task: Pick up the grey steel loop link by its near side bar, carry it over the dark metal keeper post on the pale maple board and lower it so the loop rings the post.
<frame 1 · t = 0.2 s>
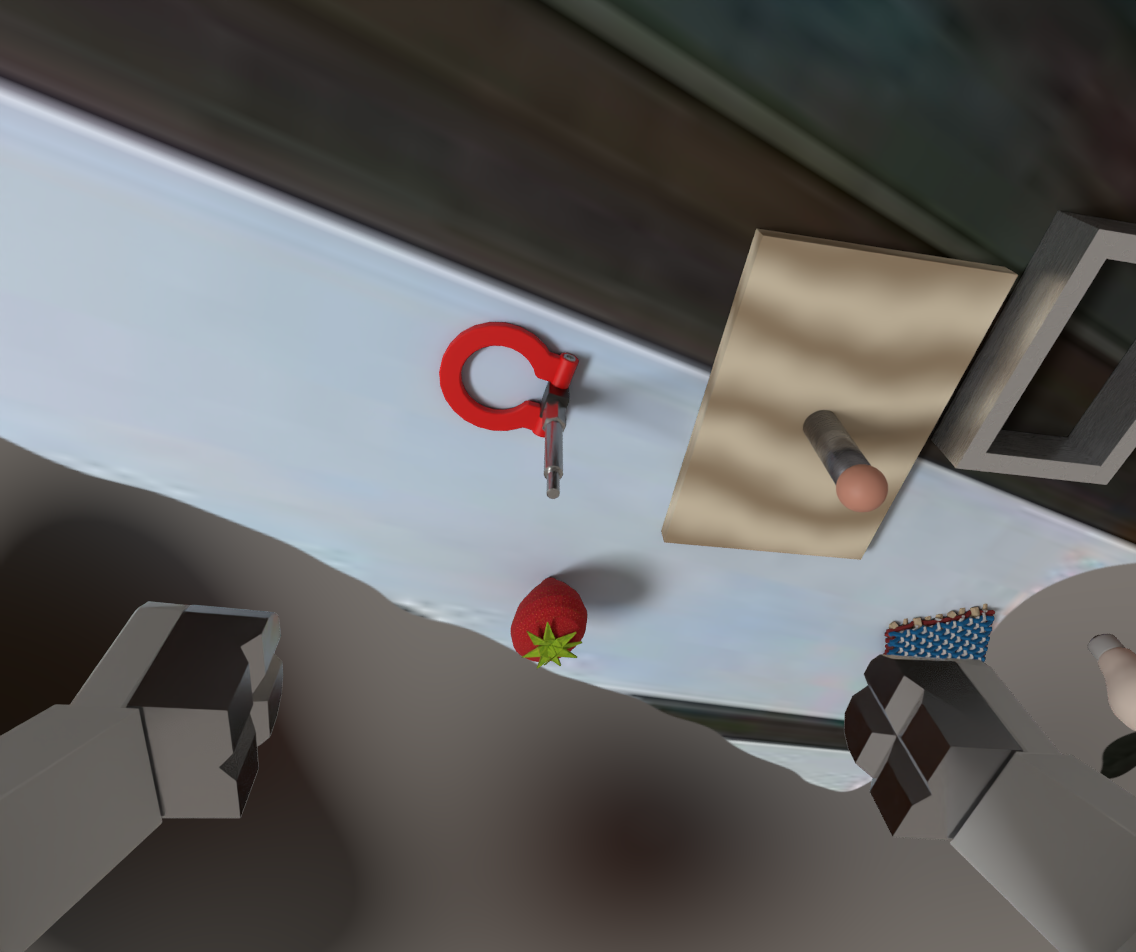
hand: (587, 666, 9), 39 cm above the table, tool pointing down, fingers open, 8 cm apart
woven mat: (930, 640, 72), on the table
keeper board: (813, 414, 54), on the table
light bulb: (1095, 635, 72), on the table
tow hook: (504, 375, 51), on the table
steel link: (1066, 347, 51), on the table
strawberry: (546, 578, 63), on the table
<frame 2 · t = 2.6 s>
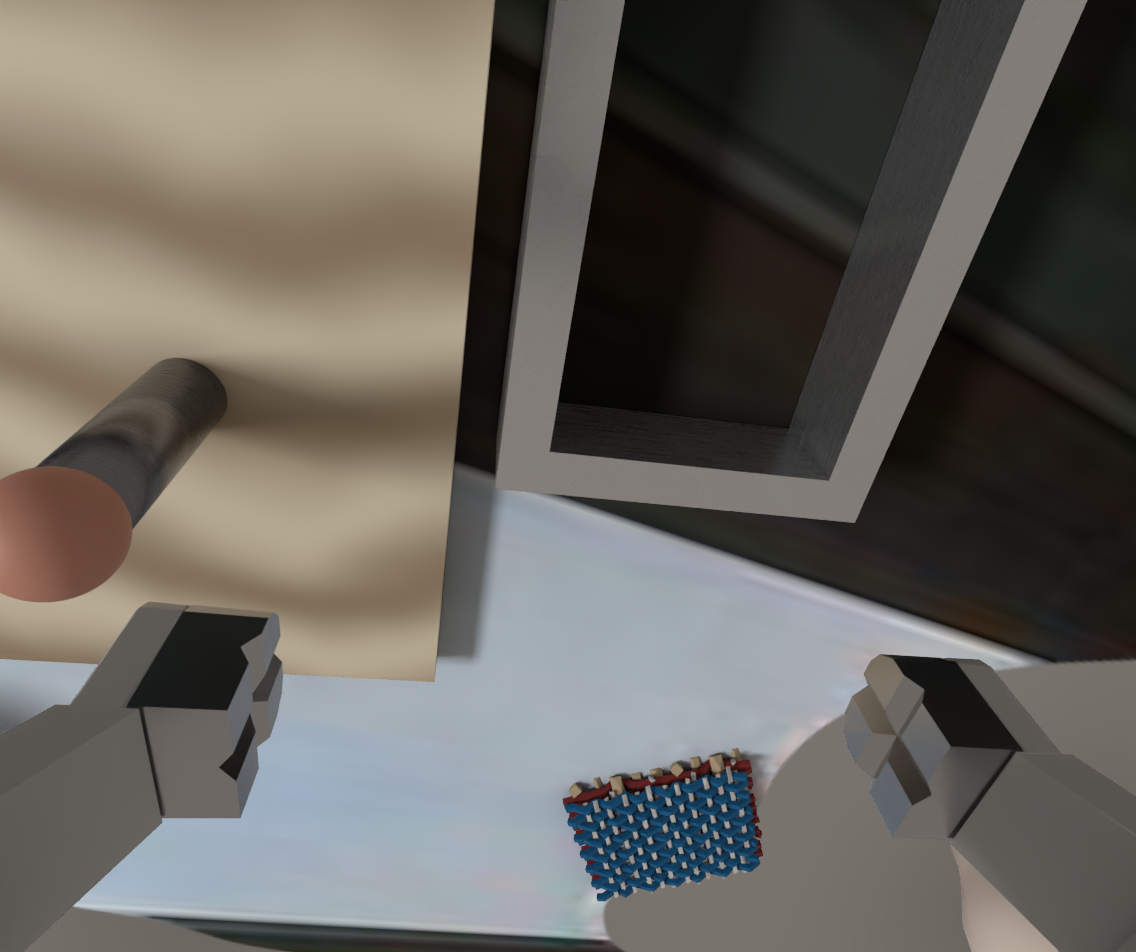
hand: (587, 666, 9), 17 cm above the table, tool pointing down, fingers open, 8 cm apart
woven mat: (664, 807, 41), on the table
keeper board: (203, 376, 24), on the table
light bulb: (950, 793, 41), on the table
steel link: (721, 215, 23), on the table
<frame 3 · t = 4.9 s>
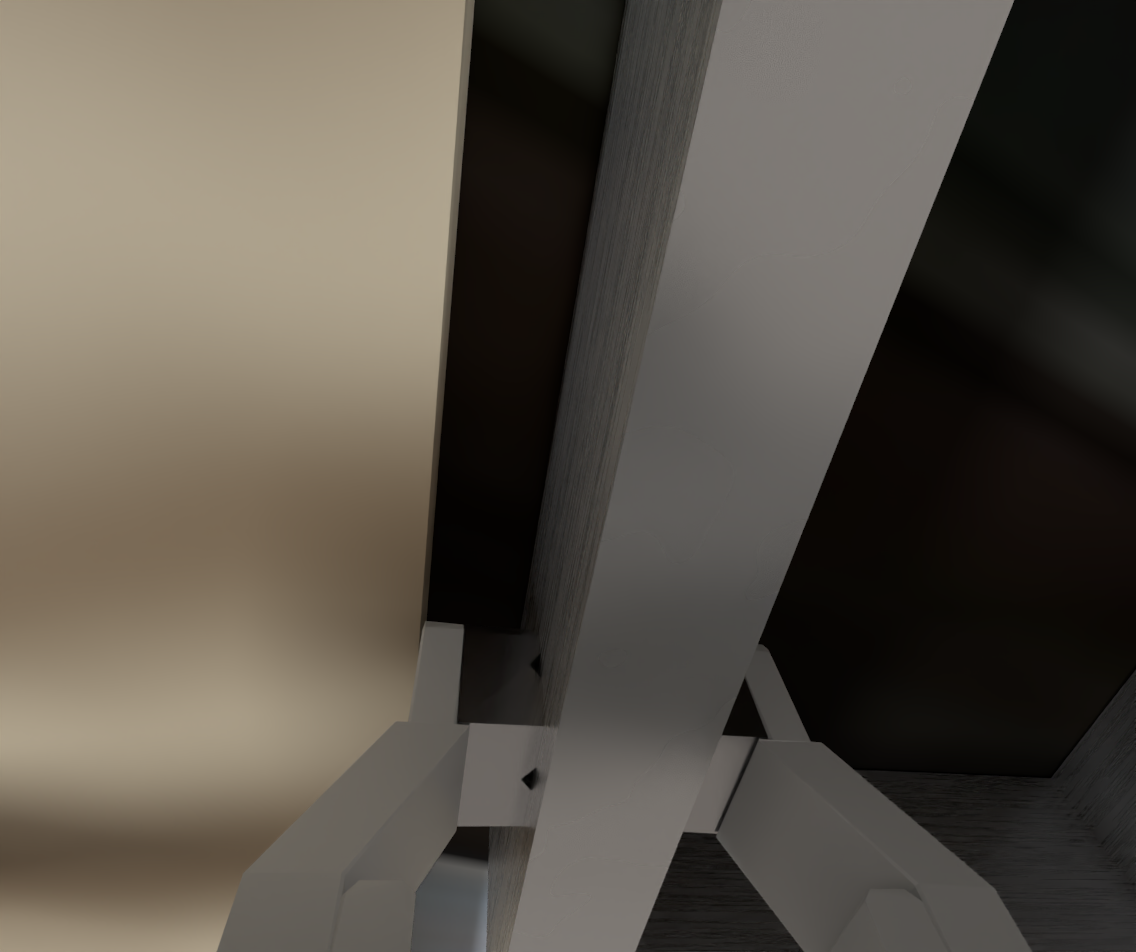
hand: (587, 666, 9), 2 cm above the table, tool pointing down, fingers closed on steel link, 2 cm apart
steel link: (1007, 433, 10), on the table, touching gripper
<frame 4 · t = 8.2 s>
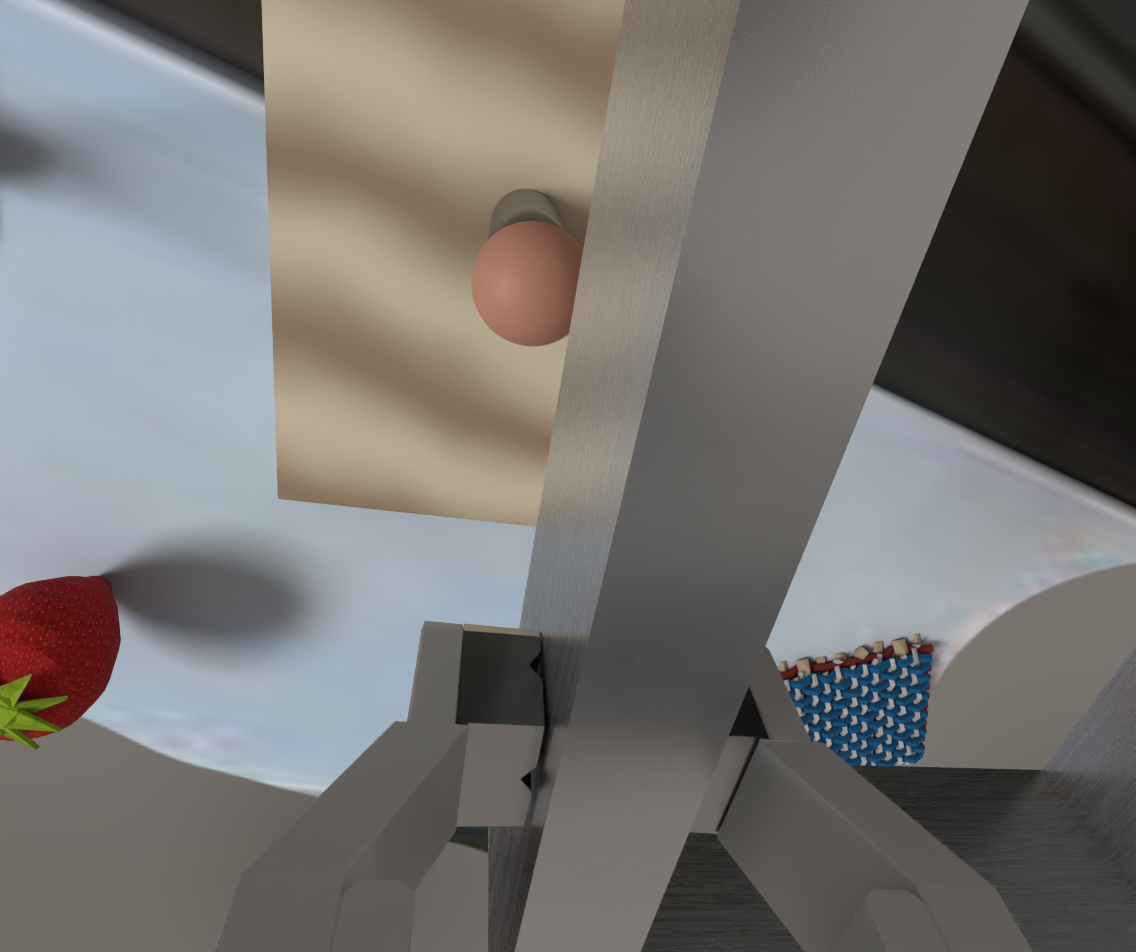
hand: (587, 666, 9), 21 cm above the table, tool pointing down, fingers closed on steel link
woven mat: (834, 699, 43), on the table
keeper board: (525, 219, 26), on the table
steel link: (1000, 432, 10), point 19 cm above the table, touching gripper
strawberry: (99, 579, 34), on the table
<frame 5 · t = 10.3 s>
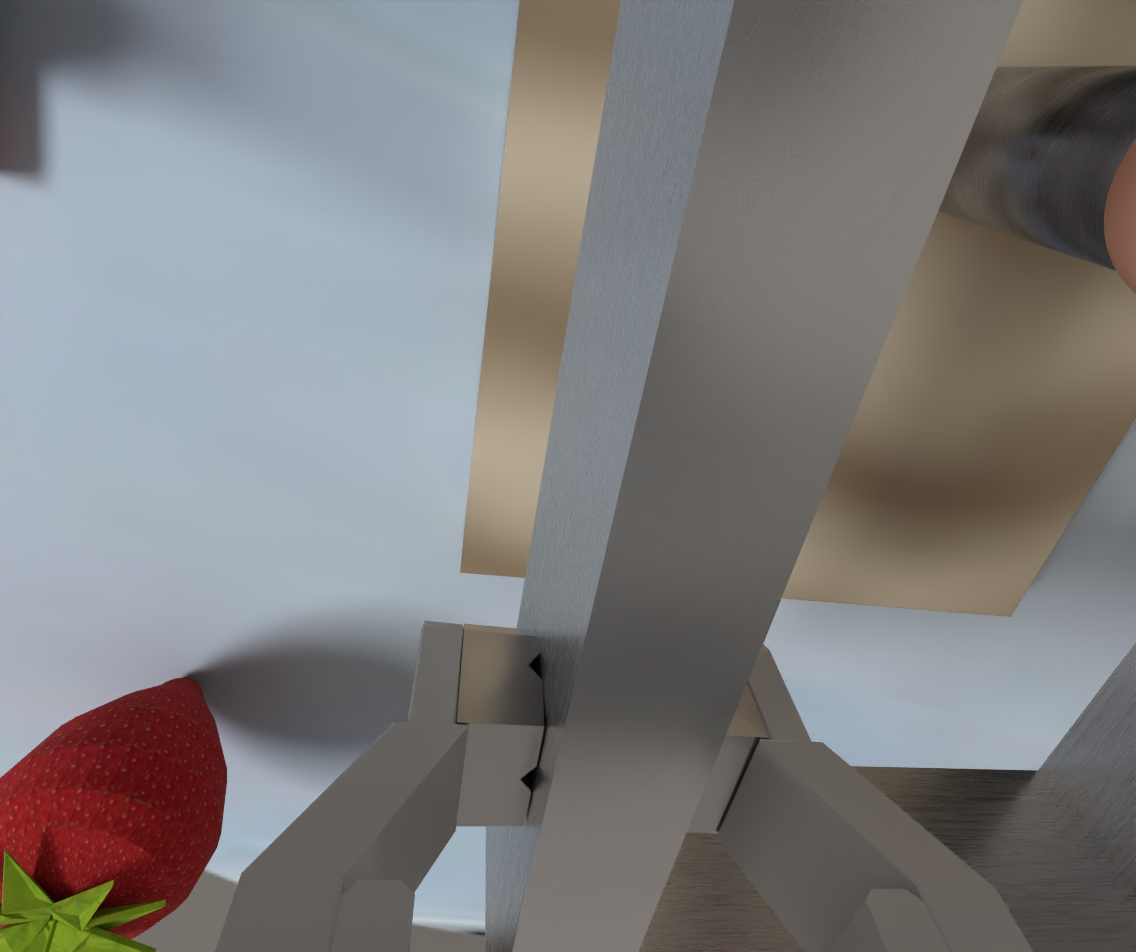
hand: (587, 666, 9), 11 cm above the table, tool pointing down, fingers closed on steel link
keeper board: (892, 131, 16), on the table
steel link: (996, 434, 10), point 9 cm above the table, touching gripper
strawberry: (183, 680, 24), on the table
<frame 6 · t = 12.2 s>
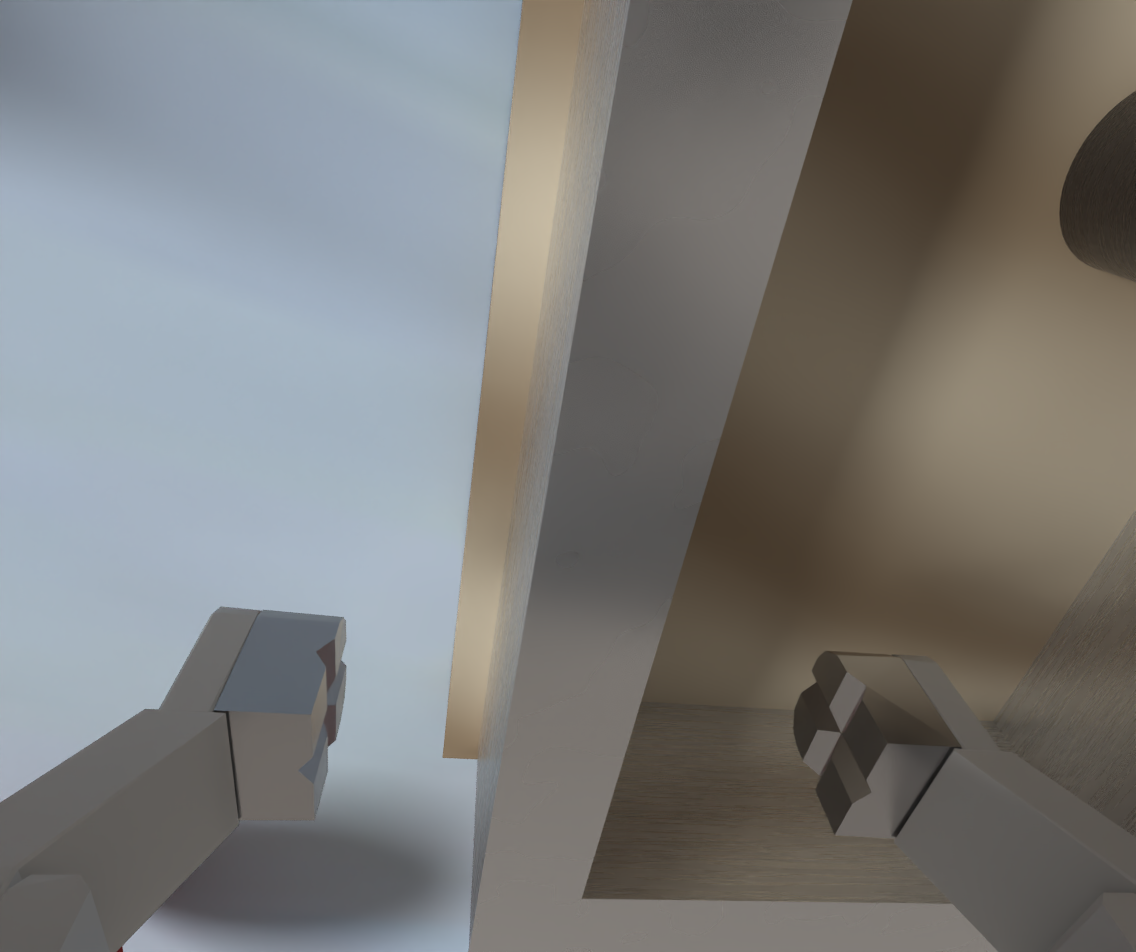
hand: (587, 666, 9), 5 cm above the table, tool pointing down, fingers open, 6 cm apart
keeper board: (1077, 165, 11), on the table
steel link: (932, 394, 11), point 1 cm above the table, touching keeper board
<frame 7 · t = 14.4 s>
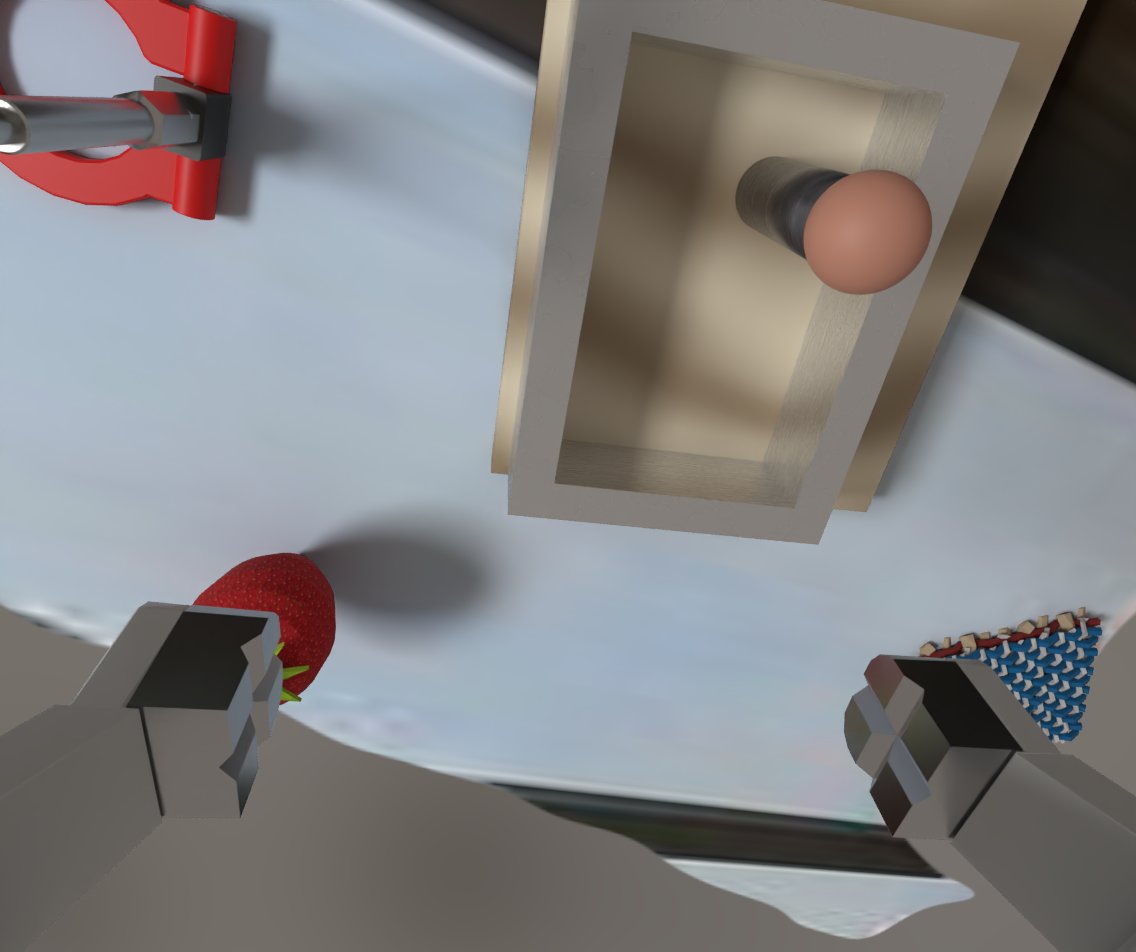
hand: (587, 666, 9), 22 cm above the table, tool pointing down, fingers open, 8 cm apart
woven mat: (988, 677, 43), on the table
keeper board: (757, 189, 27), on the table
tow hook: (97, 77, 24), on the table
steel link: (699, 283, 27), point 1 cm above the table, touching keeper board
strawberry: (294, 559, 34), on the table
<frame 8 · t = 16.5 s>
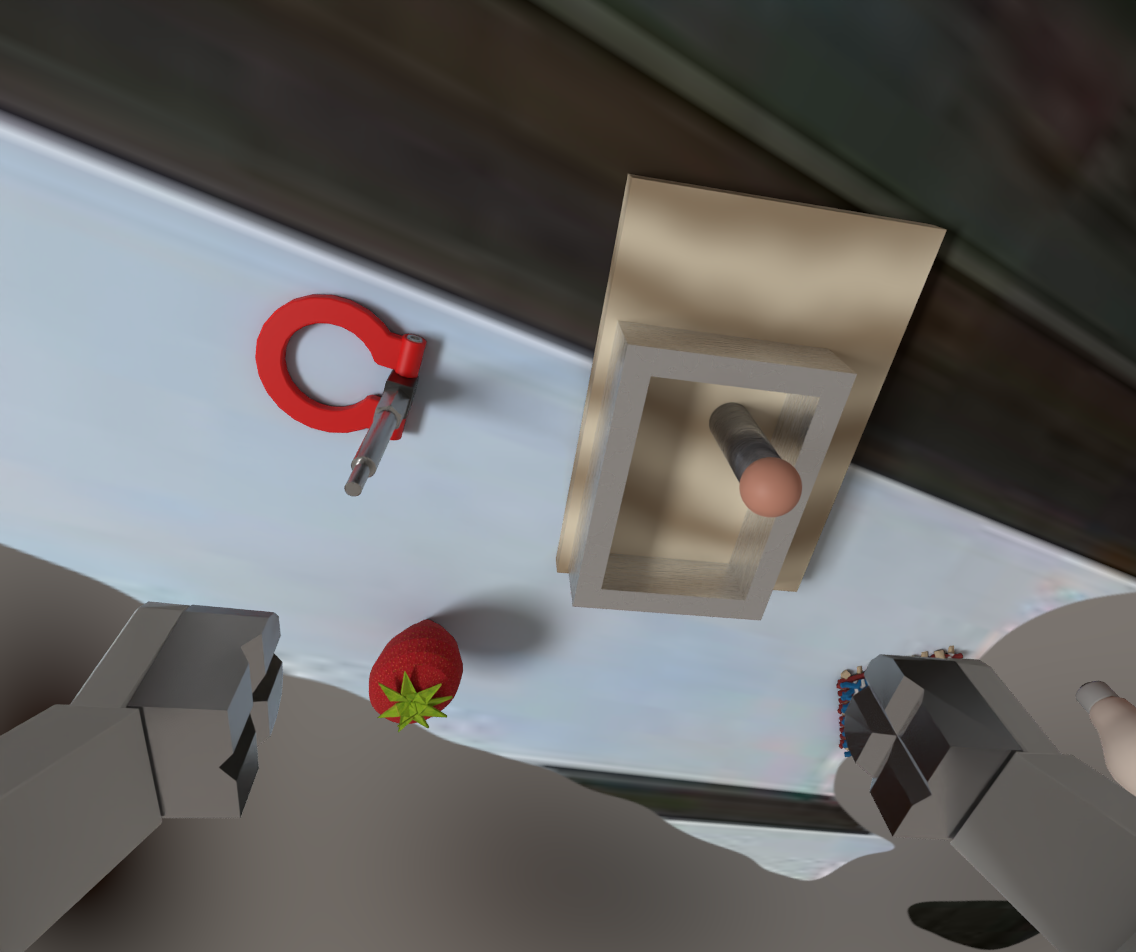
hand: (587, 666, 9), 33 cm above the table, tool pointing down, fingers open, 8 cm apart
woven mat: (892, 692, 61), on the table
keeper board: (722, 411, 45), on the table
light bulb: (1083, 684, 61), on the table
tow hook: (341, 364, 42), on the table
steel link: (688, 467, 45), point 1 cm above the table, touching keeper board
strawberry: (424, 621, 52), on the table
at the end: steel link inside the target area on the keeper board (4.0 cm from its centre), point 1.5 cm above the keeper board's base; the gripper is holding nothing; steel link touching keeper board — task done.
